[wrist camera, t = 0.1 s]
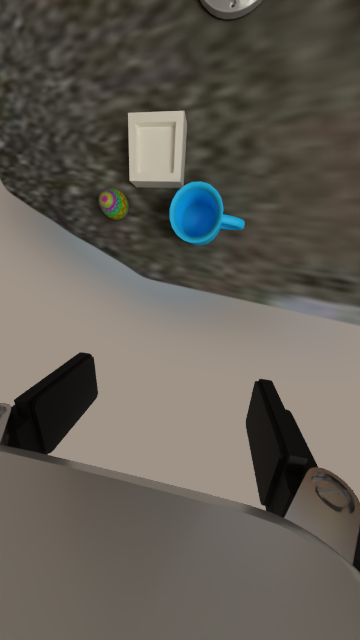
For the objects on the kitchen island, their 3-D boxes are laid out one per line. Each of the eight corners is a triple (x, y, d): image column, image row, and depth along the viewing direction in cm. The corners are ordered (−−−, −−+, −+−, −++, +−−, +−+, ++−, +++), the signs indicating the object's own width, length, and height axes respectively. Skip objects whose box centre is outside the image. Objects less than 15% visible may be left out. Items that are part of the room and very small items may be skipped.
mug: (175, 242, 37) (166, 238, 30) (182, 195, 34) (173, 178, 27) (235, 251, 36) (241, 250, 28) (247, 203, 33) (257, 188, 26)
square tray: (136, 126, 32) (128, 113, 29) (187, 124, 31) (184, 110, 28) (136, 187, 35) (129, 181, 32) (183, 188, 34) (180, 181, 31)
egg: (114, 188, 36) (96, 175, 30) (136, 201, 36) (121, 191, 31) (105, 213, 38) (86, 205, 32) (126, 226, 38) (111, 221, 32)
